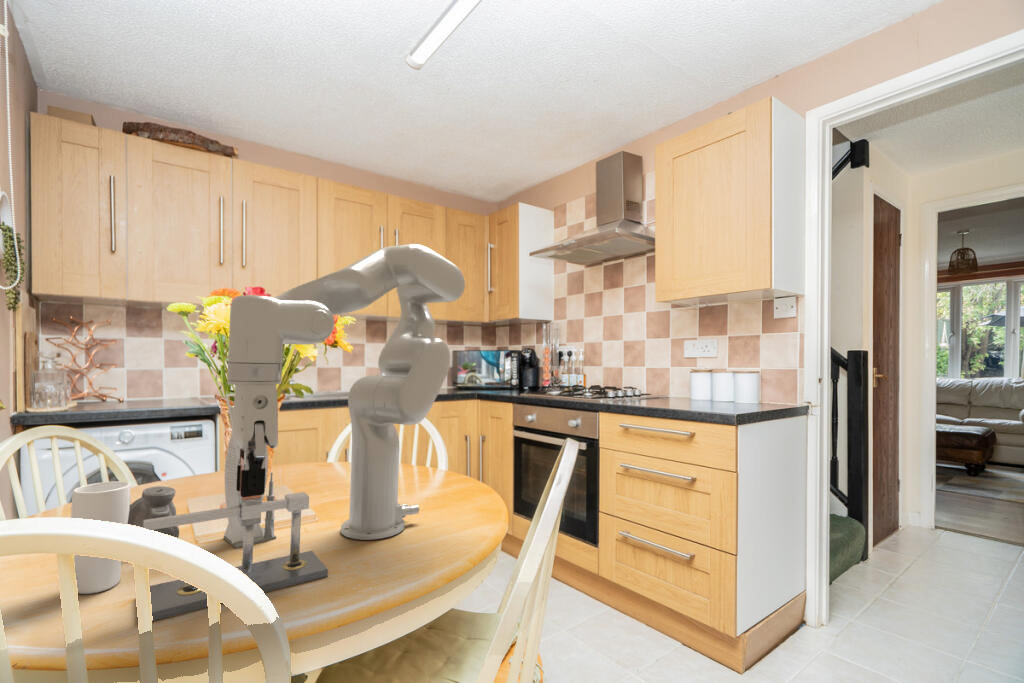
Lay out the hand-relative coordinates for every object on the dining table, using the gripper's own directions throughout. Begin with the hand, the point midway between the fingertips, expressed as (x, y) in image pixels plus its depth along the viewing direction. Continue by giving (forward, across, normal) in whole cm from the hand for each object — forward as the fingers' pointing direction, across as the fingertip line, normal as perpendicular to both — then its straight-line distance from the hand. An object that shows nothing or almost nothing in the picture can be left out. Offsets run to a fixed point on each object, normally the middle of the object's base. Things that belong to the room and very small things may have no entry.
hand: (250, 491), depth 74 cm
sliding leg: (+12, 0, 0) cm, 12 cm away
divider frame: (+13, 0, +2) cm, 13 cm away
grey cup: (+14, +12, +18) cm, 26 cm away
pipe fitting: (+15, +26, +11) cm, 32 cm away
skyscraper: (+14, +20, -3) cm, 25 cm away
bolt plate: (+14, 0, +1) cm, 14 cm away
